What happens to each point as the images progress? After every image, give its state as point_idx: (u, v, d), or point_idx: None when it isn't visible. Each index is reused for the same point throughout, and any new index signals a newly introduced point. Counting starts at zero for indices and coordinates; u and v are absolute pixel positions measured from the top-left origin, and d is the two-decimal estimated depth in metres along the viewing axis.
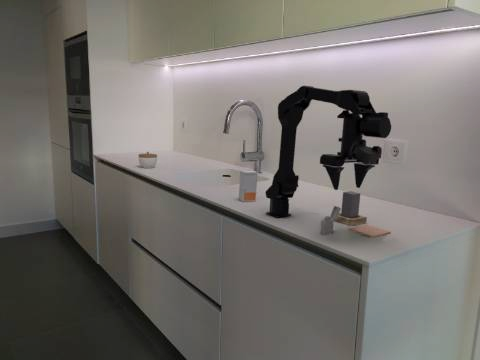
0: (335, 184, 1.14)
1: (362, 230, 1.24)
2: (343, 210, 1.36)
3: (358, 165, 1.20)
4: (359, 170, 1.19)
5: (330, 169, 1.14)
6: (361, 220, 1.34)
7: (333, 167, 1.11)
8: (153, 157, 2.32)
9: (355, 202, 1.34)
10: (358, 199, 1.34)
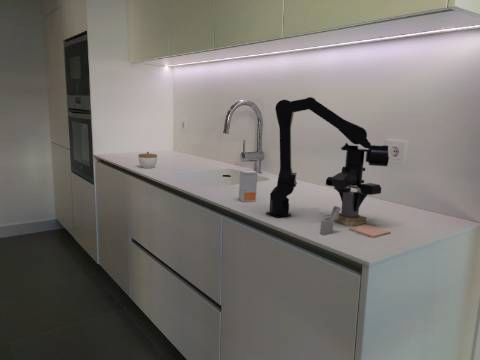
0: None
1: (362, 230, 1.24)
2: (343, 210, 1.36)
3: None
4: None
5: None
6: (361, 220, 1.34)
7: None
8: (153, 157, 2.32)
9: None
10: None
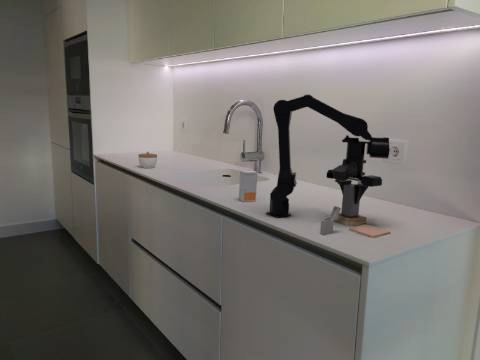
0: None
1: (362, 230, 1.24)
2: (344, 203, 1.35)
3: None
4: None
5: None
6: (361, 220, 1.34)
7: None
8: (153, 157, 2.32)
9: None
10: None
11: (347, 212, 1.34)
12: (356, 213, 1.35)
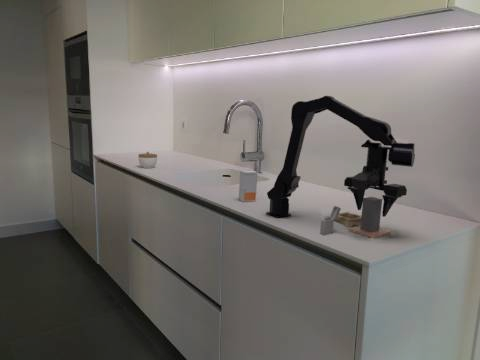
0: None
1: (362, 230, 1.24)
2: (363, 217, 1.25)
3: None
4: None
5: None
6: None
7: None
8: (153, 157, 2.32)
9: (377, 209, 1.23)
10: (380, 205, 1.23)
11: (367, 228, 1.24)
12: (377, 229, 1.24)
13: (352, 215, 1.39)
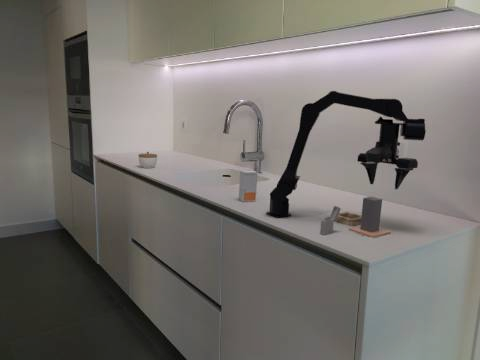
0: None
1: (362, 230, 1.24)
2: (363, 217, 1.25)
3: None
4: None
5: None
6: None
7: None
8: (153, 157, 2.32)
9: (377, 209, 1.23)
10: (380, 205, 1.23)
11: (367, 228, 1.24)
12: (377, 229, 1.24)
13: (352, 215, 1.39)
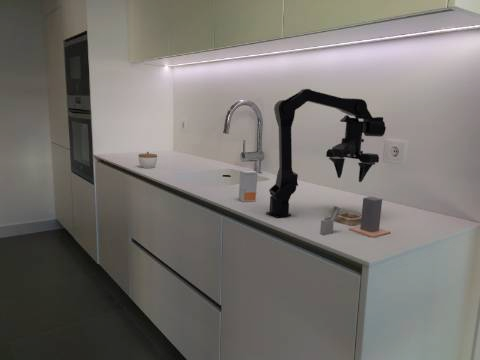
0: None
1: (362, 230, 1.24)
2: (363, 217, 1.25)
3: None
4: None
5: None
6: None
7: None
8: (153, 157, 2.32)
9: (377, 209, 1.23)
10: (380, 205, 1.23)
11: (367, 228, 1.24)
12: (377, 229, 1.24)
13: (352, 215, 1.39)
